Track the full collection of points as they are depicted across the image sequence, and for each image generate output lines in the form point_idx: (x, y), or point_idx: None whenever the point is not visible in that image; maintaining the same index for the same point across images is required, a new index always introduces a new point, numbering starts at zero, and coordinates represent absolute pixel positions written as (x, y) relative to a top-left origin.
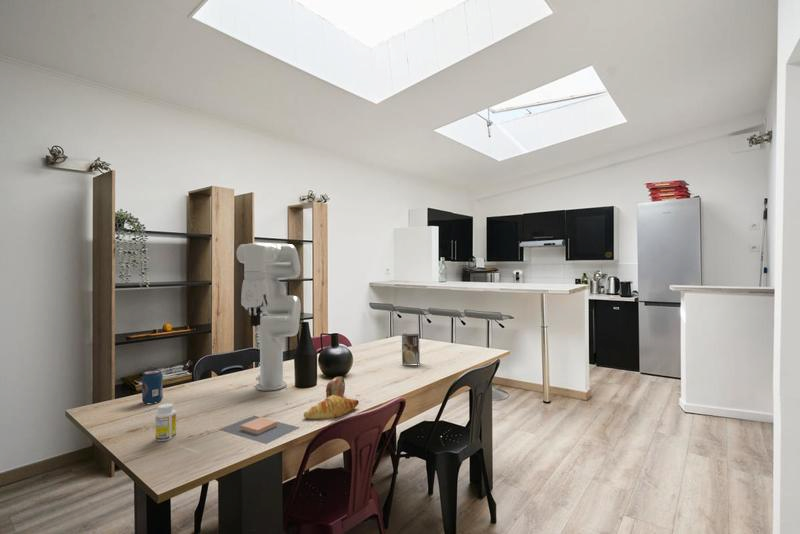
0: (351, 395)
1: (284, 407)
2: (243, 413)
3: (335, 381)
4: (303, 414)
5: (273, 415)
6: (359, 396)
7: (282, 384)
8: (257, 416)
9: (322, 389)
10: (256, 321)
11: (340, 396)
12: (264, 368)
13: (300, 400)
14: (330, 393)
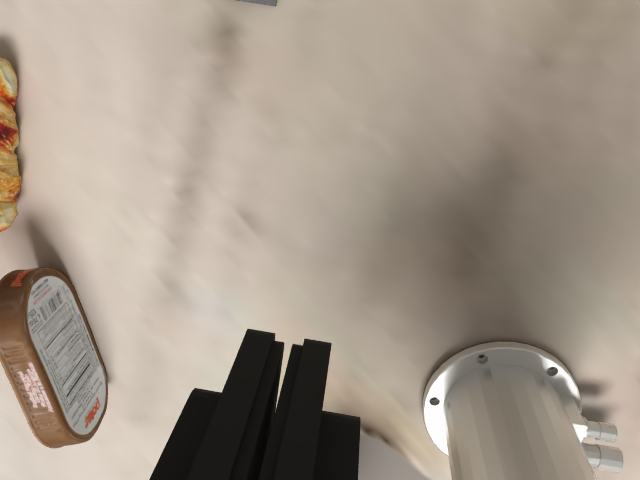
0: None
1: (225, 173)
2: (363, 22)
3: (14, 369)
4: (2, 61)
5: (194, 57)
6: None
7: (441, 423)
8: (248, 1)
9: None
10: (185, 408)
11: None
12: (532, 437)
13: (222, 279)
14: (5, 281)
